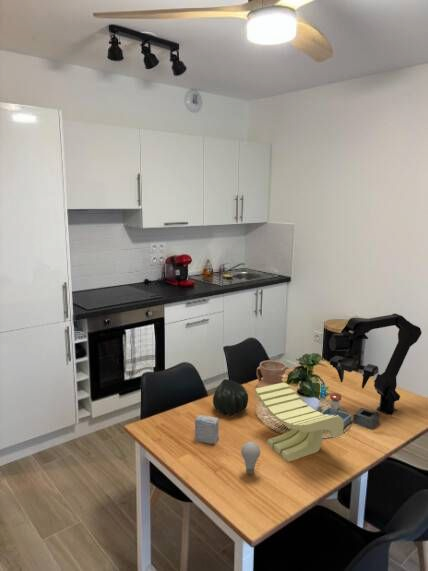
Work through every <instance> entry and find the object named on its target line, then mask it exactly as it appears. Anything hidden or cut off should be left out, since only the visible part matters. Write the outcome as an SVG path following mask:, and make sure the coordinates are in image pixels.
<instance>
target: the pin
mask: <svg viewBox="0 0 428 571" xmlns="http://www.w3.org/2000/svg"><path fill="white" fill-rule="evenodd" d="M329 399H330V401H331V404H330V408H331V415H334V416H337V415H338V412H339V411H340V410H339V408H340V401H341V400H342V394H340V393H336V392H332V393H330V394H329ZM331 415H330V416H331Z"/></svg>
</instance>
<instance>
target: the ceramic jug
mask: <svg viewBox="0 0 428 571" xmlns="http://www.w3.org/2000/svg"><path fill="white" fill-rule="evenodd" d="M286 371H287V365H286V364H285V363H284V362H281V361H277V360H269V359H268V360H263V361H261V362H260V363H259V366H258V367H257V368H256V377H257V380H258V382H257V384H256V388H260V387H265V386H270V385H274V384H279V383H286V382H285V381H283V380H282V379H284V380H286V379H287V378H288V375H286V374H285V373H286ZM261 376H262V377H261Z"/></svg>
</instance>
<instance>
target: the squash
mask: <svg viewBox="0 0 428 571" xmlns="http://www.w3.org/2000/svg"><path fill="white" fill-rule="evenodd" d="M248 403H249V395H248V391H247V389H246V388H245V387H244V386H243V385H242V383H241V384H240V383H238V382H236V381H234V380H231V379H227V378H226V379H225V378H224V379H222V381H221V382H220V384H219V385H218V386H217V387H216V389H215V390H214V394H213V398H212V404H213V407H214V409H215V410H216V411H218V412H219V413H220V414H221V415H223V416H229V417H234V416H235V415H236V414H238V415H240V414H241V413H242V412H243V411H245V409H246V408H247V406H248Z"/></svg>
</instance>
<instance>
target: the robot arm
mask: <svg viewBox="0 0 428 571" xmlns="http://www.w3.org/2000/svg"><path fill="white" fill-rule="evenodd" d="M392 326H395V327H396V328H397V329H398V333H397V340H398V341H397V344H396V346H395V348H394V350H393V351H392V352H393V353H392V355H391V357H390V359H389V362H388V363H387V366H386V368H385V369H384V372H382V373H381V374H380V373H379V366H377V365H374V364H371V363H368V364H367V365H364V364H363V360H362V358H363V356H362V355H363V354H364V351H363V344H364V342H363V341H364V340H368V339H369V337H368V336H367V335H366V334H368V333H370V331H372V330H375V329H381V328H388V327H392ZM421 335H422V329H421V327H420V326H418V325H415V324H413V323H412V322H410V321H409V320H408V319H407V318H406V317H404V316H403V315H402V314H398V313H392V314H387V315H383V316H382V315H381V316H375V317H370V318H363V317H351V318H349V319H348V321H347V323H346V325H345V326H344V328H343V329H341V331H340V333H332V336H331V337H330V338H329V339H328V345H329V349H330V350H331V352H335V351H336V352H337V351H345V354H344V357H343V356H340V355H334V356H333V357H331V358H330V360H329V366H332V368H334V369H335V371H336V373H337V374H338V378H339V381H340V383H342V382H344V377H345V376H344V375H345V372H348V373H352V372H353V371H354V370H355V371H358V370H360V371H362V372H363V374H362V381H361V389H365V386H366V385H367V383H368V381H369V379H370V378H371V377H375V376H376V378H375V379H374V380H373V386H374V389H375V390H376V392H377V394H378V395H380V400H379V406H378V407H377V408H376V412H382V413H383V414H387V415H390V416H391V415H393V414H394V413H395V412H397V410H398V409H397V408H396V407H395V402H398V401H399V400H400V398H401V395H400V394H399V393H398V392H397V391H396V389H397V377H398V375H399V373H400V370H401V368H402V366H403V363H404V361H405V359H406V356H407V355H408V352H409V350H410V348H411V346H413V345H415V344H416V343H417V342H418V341H419V339H420V337H421Z"/></svg>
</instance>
